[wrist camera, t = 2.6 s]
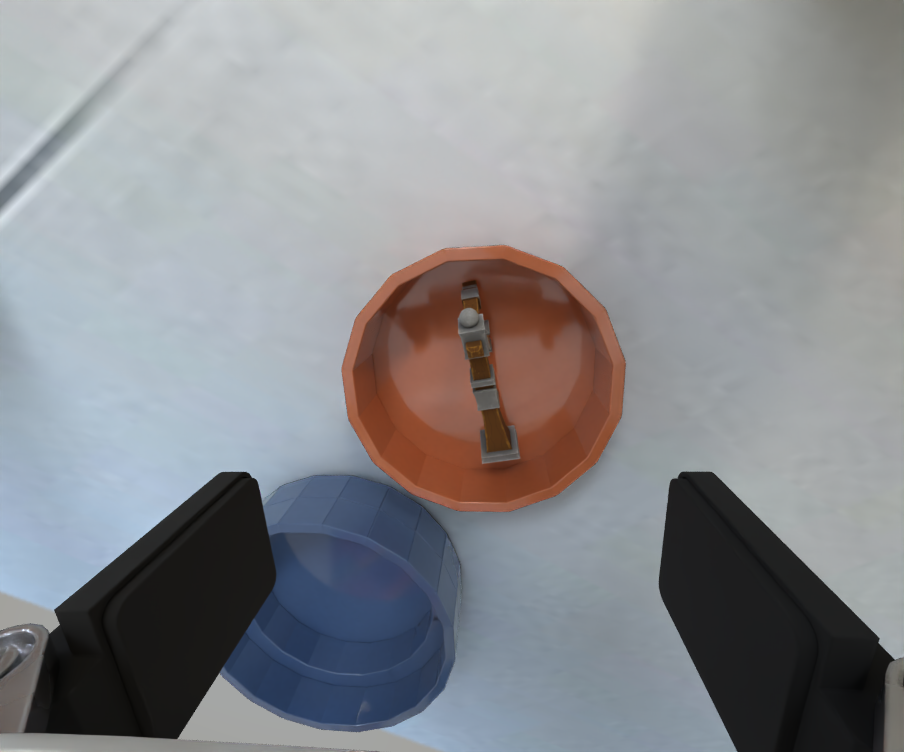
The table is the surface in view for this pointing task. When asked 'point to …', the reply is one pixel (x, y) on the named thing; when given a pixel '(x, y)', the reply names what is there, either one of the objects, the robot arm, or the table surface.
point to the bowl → (351, 608)
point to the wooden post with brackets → (484, 379)
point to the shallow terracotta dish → (516, 374)
